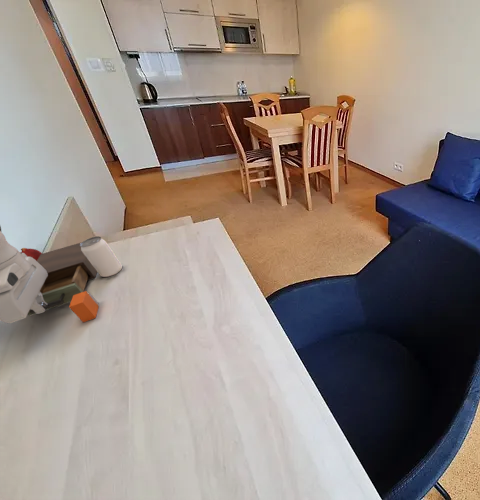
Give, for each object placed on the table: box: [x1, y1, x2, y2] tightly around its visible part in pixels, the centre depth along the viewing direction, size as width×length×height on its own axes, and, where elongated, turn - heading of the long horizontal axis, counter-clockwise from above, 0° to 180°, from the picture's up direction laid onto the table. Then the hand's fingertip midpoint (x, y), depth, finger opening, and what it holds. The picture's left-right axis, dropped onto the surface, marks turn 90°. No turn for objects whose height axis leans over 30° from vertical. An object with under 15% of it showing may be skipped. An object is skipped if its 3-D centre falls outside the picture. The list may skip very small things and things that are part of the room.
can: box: [80, 236, 123, 278], centre depth 96 cm, size 6×6×12 cm
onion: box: [20, 247, 43, 261], centre depth 105 cm, size 6×6×8 cm
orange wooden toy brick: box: [68, 290, 100, 323], centre depth 82 cm, size 3×7×6 cm, turn 28°
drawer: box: [27, 265, 89, 316], centre depth 89 cm, size 19×13×5 cm
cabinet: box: [37, 241, 98, 281], centre depth 99 cm, size 16×15×7 cm
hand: (42, 309), depth 80 cm, fingers closed
